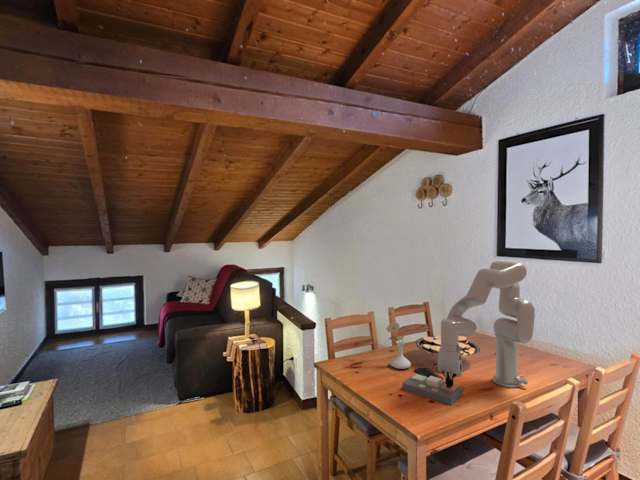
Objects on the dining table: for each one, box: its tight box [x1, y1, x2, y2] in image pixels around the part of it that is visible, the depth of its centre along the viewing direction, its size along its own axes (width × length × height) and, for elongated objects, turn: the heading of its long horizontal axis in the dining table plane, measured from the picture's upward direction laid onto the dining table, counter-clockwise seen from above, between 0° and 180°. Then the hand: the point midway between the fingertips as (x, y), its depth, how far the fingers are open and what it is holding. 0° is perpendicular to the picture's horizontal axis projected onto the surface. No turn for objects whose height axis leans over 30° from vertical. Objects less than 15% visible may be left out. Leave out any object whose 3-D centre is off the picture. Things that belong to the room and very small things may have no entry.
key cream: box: [426, 376, 443, 388], centre depth 163 cm, size 5×5×3 cm
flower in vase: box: [386, 321, 412, 370], centre depth 191 cm, size 13×11×25 cm
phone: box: [413, 367, 444, 381], centre depth 180 cm, size 8×1×15 cm
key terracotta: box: [442, 383, 459, 393], centre depth 158 cm, size 5×5×3 cm
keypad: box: [402, 373, 464, 406], centre depth 161 cm, size 23×14×3 cm, turn 48°
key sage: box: [411, 373, 427, 383], centre depth 168 cm, size 5×5×3 cm
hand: (449, 386), depth 158 cm, fingers closed
